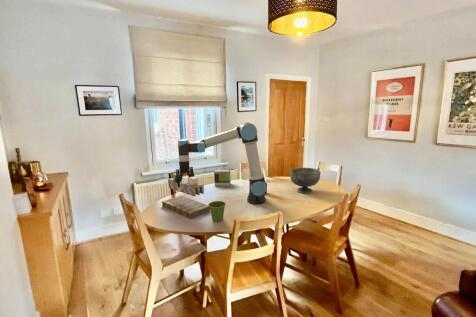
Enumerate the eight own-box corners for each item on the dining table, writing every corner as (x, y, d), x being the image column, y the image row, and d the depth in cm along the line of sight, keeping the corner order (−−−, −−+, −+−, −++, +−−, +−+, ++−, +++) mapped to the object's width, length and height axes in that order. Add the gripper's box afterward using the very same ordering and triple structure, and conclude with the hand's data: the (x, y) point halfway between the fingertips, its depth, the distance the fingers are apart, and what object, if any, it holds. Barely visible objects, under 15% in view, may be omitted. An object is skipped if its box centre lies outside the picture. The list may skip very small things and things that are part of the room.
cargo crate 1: (182, 179, 192) (182, 173, 191) (177, 180, 189) (176, 174, 188) (178, 178, 195) (178, 172, 195) (173, 179, 192) (172, 173, 191)
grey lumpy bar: (203, 193, 180) (203, 184, 178) (194, 196, 173) (193, 186, 172) (178, 185, 201) (177, 176, 200) (168, 187, 194) (168, 178, 193)
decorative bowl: (326, 192, 222) (326, 170, 219) (307, 198, 208) (307, 175, 205) (303, 186, 244) (303, 166, 241) (284, 191, 230) (284, 170, 227)
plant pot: (212, 215, 176) (212, 200, 174) (228, 217, 173) (228, 201, 171) (205, 222, 165) (205, 206, 163) (222, 224, 162) (222, 208, 160)
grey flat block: (210, 211, 184) (210, 205, 183) (190, 218, 171) (190, 213, 170) (181, 200, 207) (181, 195, 207) (162, 206, 194) (161, 201, 194)
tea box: (230, 183, 255) (230, 169, 252) (229, 186, 245) (229, 171, 242) (216, 183, 256) (215, 169, 254) (214, 186, 247) (213, 171, 244)
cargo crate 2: (197, 183, 180) (197, 177, 179) (192, 185, 176) (192, 179, 175) (193, 182, 183) (193, 176, 182) (188, 183, 179) (187, 177, 179)
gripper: (192, 157, 193) (193, 185, 197) (168, 162, 177) (170, 192, 182) (198, 159, 188) (200, 187, 192) (174, 163, 173) (176, 194, 177)
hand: (185, 189), depth 187 cm, fingers closed on grey lumpy bar, 9 cm apart
